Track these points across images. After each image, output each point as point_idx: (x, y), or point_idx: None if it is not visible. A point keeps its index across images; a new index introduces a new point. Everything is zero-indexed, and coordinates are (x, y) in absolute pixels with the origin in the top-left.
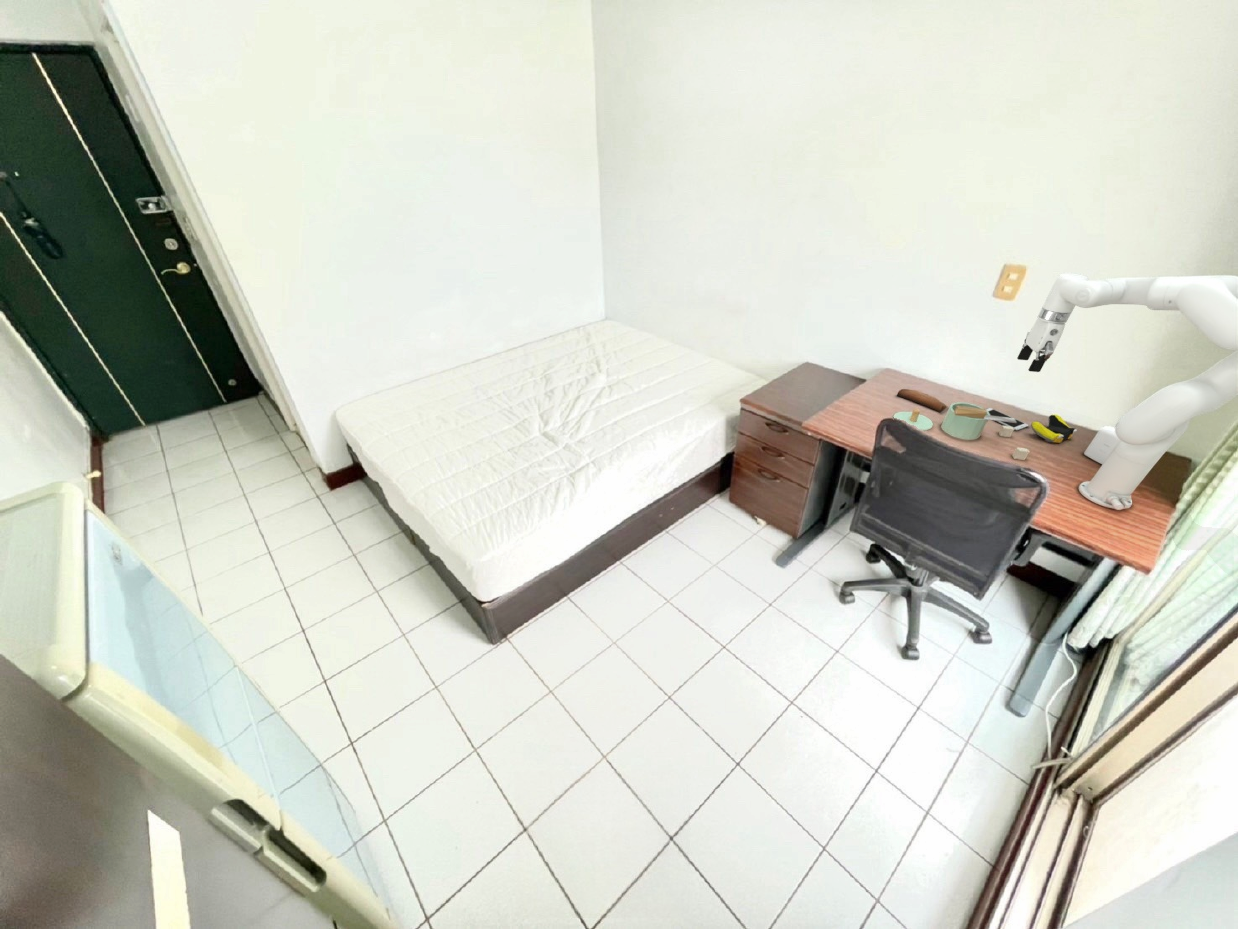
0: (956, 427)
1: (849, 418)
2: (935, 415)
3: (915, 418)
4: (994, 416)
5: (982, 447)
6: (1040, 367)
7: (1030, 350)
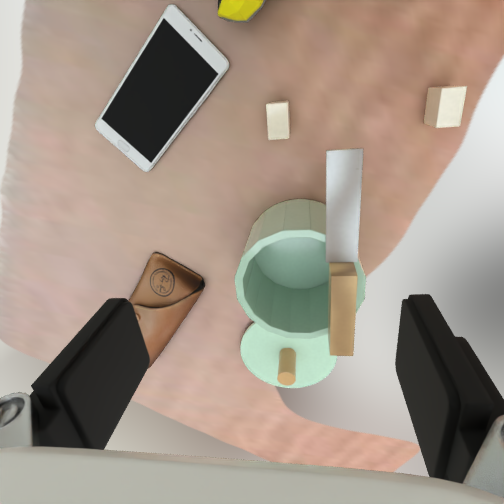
0: None
1: (310, 448)
2: (219, 289)
3: (295, 361)
4: (331, 224)
5: (384, 205)
6: (476, 356)
7: (79, 397)
